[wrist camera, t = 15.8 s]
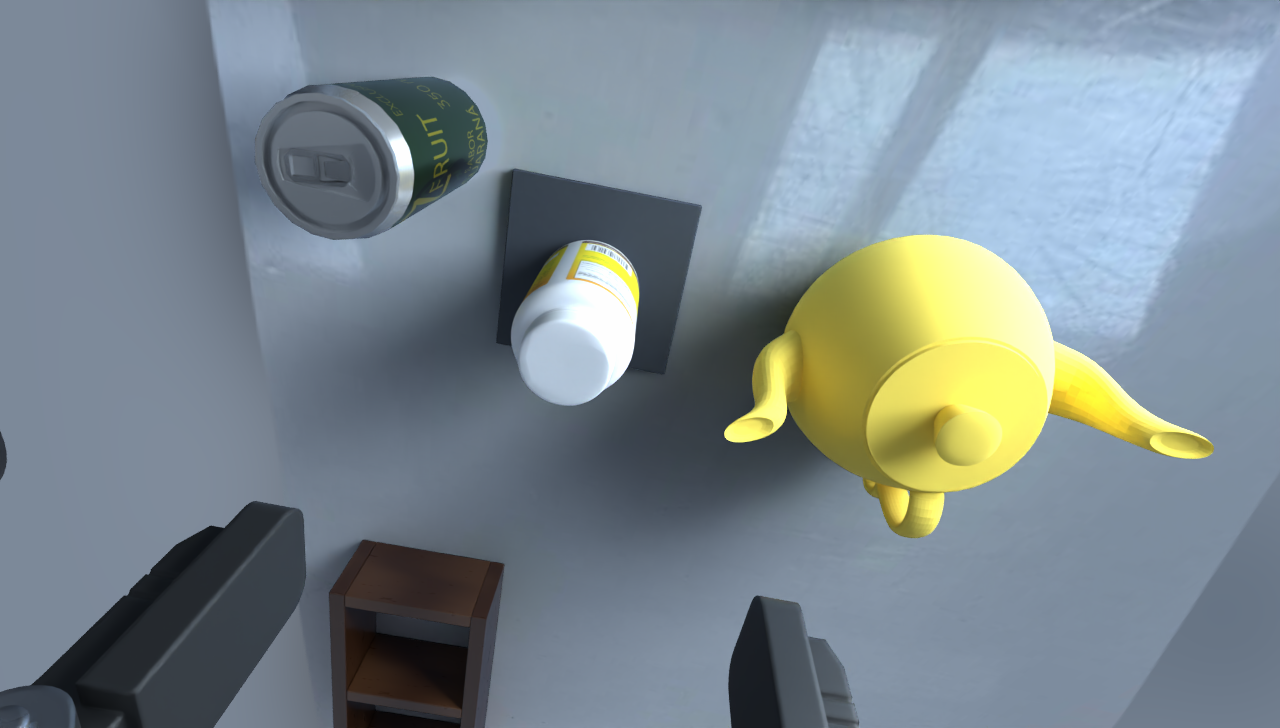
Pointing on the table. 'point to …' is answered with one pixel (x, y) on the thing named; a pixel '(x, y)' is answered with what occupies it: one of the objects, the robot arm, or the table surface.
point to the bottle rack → (408, 666)
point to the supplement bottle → (577, 323)
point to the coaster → (616, 217)
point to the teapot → (933, 376)
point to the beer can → (367, 152)
